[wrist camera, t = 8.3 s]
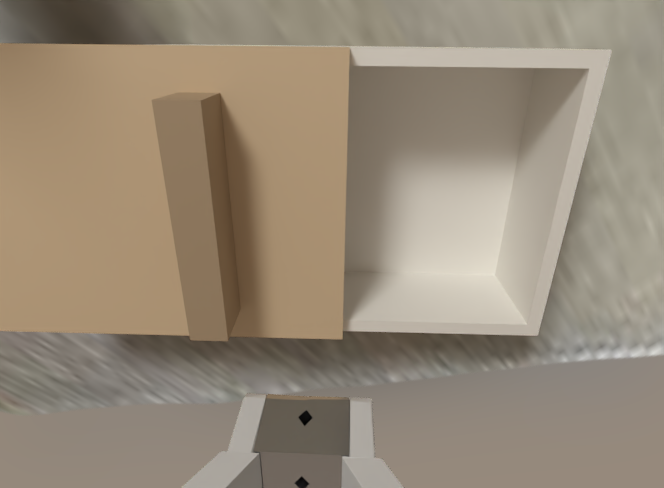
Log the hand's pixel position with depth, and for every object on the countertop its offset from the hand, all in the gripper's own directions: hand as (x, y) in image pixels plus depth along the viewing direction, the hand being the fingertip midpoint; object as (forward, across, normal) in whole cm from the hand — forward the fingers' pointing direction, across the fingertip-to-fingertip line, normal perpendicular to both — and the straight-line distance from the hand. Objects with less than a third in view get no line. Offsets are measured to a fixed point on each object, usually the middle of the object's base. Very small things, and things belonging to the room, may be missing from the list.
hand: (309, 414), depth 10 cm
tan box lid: (+14, +10, 0) cm, 17 cm away
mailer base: (+21, -2, 0) cm, 21 cm away
